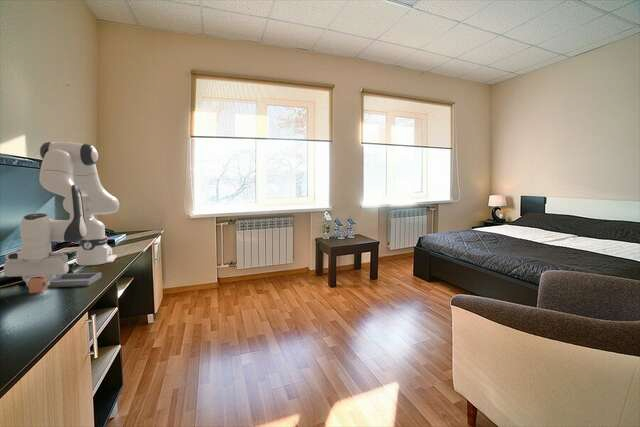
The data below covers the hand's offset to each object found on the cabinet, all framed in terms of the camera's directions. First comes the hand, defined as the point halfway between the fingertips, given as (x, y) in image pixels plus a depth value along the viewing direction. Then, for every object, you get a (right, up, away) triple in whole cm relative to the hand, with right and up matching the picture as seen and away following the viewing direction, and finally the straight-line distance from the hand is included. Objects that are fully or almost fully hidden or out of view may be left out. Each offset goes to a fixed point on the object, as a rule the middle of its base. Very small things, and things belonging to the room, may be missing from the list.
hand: (38, 285), depth 118 cm
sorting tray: (+5, -2, +12) cm, 13 cm away
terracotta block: (0, -2, 0) cm, 2 cm away
